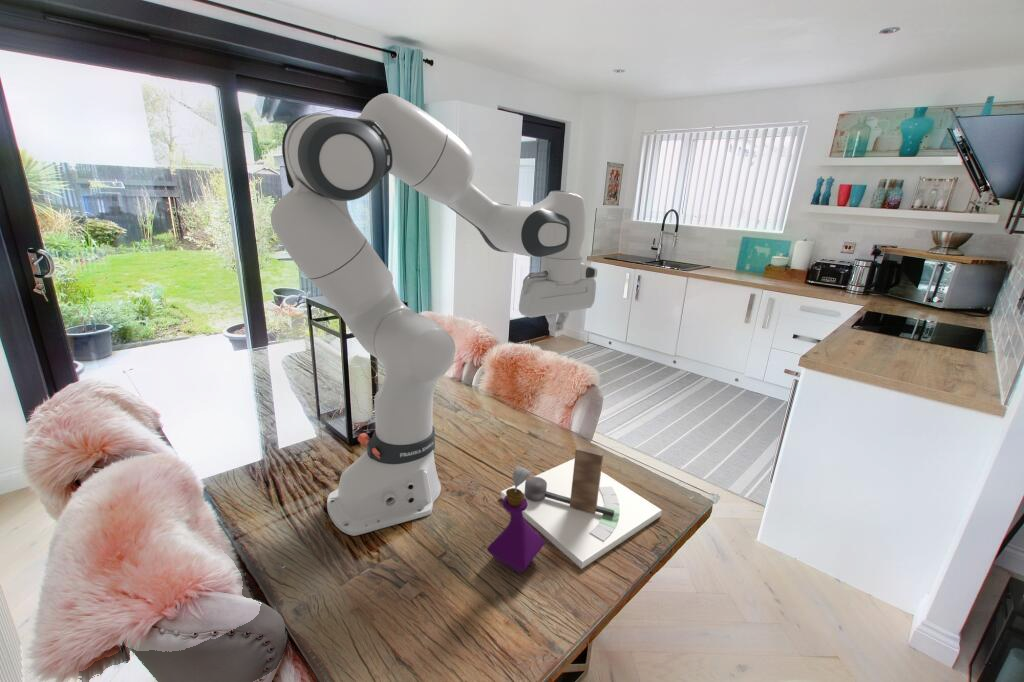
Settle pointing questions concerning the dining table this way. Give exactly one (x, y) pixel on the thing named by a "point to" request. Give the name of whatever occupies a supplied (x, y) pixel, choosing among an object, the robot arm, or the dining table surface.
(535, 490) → the lever
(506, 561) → the perfume bottle
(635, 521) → the dial board
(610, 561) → the dining table surface
